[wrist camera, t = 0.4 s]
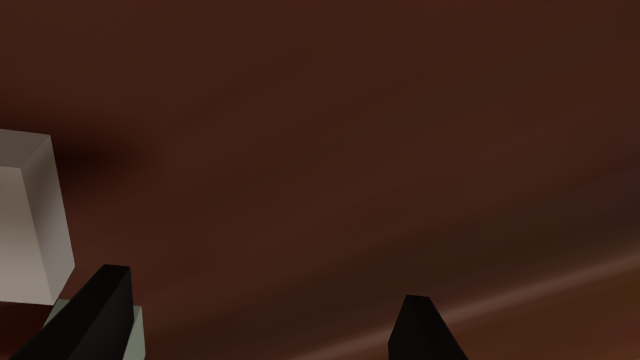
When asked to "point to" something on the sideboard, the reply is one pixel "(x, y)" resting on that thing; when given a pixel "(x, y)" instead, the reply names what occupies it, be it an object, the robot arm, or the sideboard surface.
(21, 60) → the sideboard surface
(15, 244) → the grey base
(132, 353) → the green block
